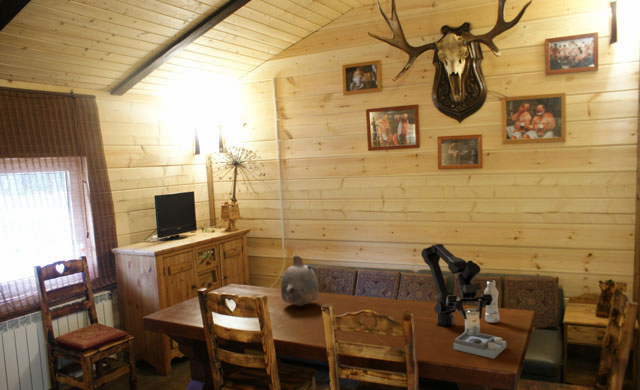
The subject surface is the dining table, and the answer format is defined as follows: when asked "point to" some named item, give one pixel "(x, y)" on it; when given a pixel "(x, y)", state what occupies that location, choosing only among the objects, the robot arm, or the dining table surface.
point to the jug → (299, 284)
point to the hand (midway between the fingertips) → (472, 318)
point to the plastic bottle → (492, 309)
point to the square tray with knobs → (480, 344)
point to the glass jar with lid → (472, 321)
